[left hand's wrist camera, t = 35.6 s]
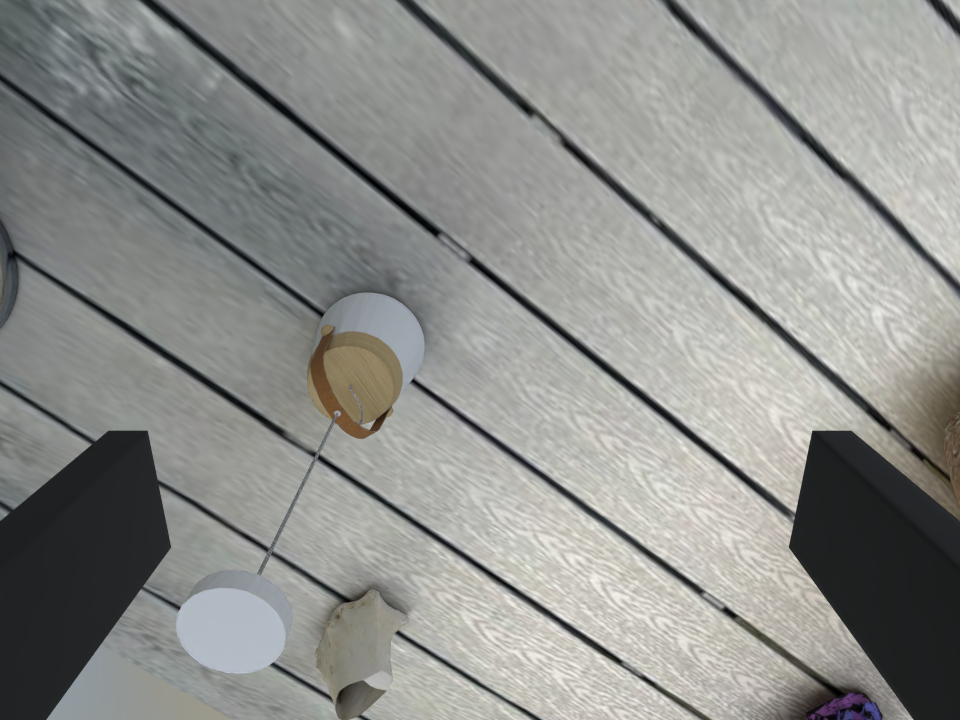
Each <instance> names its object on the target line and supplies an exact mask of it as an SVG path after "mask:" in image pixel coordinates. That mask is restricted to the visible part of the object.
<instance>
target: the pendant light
mask: <svg viewBox="0 0 960 720" xmlns="http://www.w3.org/2000/svg"><path fill="white" fill-rule="evenodd" d="M424 352H425V342H424V336H423V332H422V329H421V327H420V324H419V323H418V321H417V319H416V318H415V316H414V315H413V314H412V312H411V311H410V310H409V309H408V308H407V307H406V306H404V305H403V304H402V303H400V302H399V301H397V300H396V299H394V298H391V297H389V296H387V295H383V294H377V293H357V294H353V295H350V296H347V297H344V298H343V299H341V300H339V301H337V302H336V303H335V304H333V305H332V306H331V307H330V308H329V309H328V310H327V312H326V313H325V314H324V316H323V318H322V319H321V321H320V324H319V327H318V330H317V334H316V338H315V342H314V346H313V350H312V354H311V358H310V362H309V366H308V384H307V385H308V390H309V395H310V397H311V399H312V401H313V403H314V405H315V406H316V407H317V408H318V410H319V411H320V412H321V413H322V414H323V415H325V416H326V417H328V418H329V419H331V420H333V421H332V423H331V425H330V427H329V429H328V431H327V433H326V435H325V437H324V439H323V441H322V443H321V445H320V447H319V449H318V451H317V453H316V455H315V457H314V459H313V461H312V463H311V466H310V468H309V470H308V472H307V474H306V476H305V478H304V480H303V482H302V484H301V486H300V488H299V490H298V492H297V494H296V496H295V498H294V500H293V502H292V504H291V506H290V508H289V510H288V512H287V514H286V516H285V518H284V520H283V522H282V524H281V526H280V528H279V530H278V533H277V535H276V537H275V539H274V541H273V543H272V545H271V547H270V549H269V551H268V553H267V555H266V557H265V559H264V561H263V563H262V565H261V567H260V569H259V571H258V573H257V574H254V573H251V572H247V571H240V570H228V571H220V572H217V573H214V574H211V575H208V576H207V577H205V578H204V579H202V580H201V581H199V582H198V583H197V584H196V585H195V587H194V588H193V589H192V591H191V592H190V594H189V596H188V597H187V599H186V600H185V602H184V604H183V605H182V607H181V609H180V610H179V612H178V615H177V619H176V631H177V635H178V638H179V640H180V642H181V644H182V646H183V648H184V649H185V650H186V651H187V652H188V653H189V654H190V655H191V656H192V657H193V658H194V659H196V660H197V661H198V662H200V663H201V664H203V665H205V666H207V667H209V668H212V669H215V670H218V671H221V672H226V673H239V674H243V673H249V672H255V671H258V670H260V669H263V668H265V667H267V666H269V665H270V664H271V663H273V662H274V661H275V660H276V659H277V658H278V657H279V655H280V654H281V652H282V650H283V648H284V645H285V643H286V640H287V637H288V635H289V632H290V629H291V625H292V621H293V614H292V609H291V605H290V603H289V601H288V599H287V598H286V596H285V594H284V593H283V592H282V591H281V590H280V589H279V587H278V586H276V585H275V584H274V583H272V582H271V581H270V580H268V579H266V578H264V577H262V576H261V573H262V571H263V569H264V567H265V565H266V563H267V561H268V559H269V557H270V555H271V553H272V551H273V549H274V547H275V545H276V542H277V540H278V538H279V536H280V534H281V532H282V530H283V528H284V526H285V524H286V522H287V520H288V518H289V516H290V514H291V512H292V509H293V507H294V505H295V503H296V501H297V499H298V497H299V495H300V493H301V491H302V489H303V487H304V485H305V483H306V481H307V478H308V476H309V474H310V472H311V470H312V468H313V466H314V464H315V462H316V460H317V458H318V456H319V454H320V452H321V450H322V447H323V445H324V443H325V441H326V439H327V437H328V435H329V433H330V431H331V429H332V427H333V425H334V423H336V424H337V425H338V426H339V427H340V428H341V429H342V430H343V431H345V432H346V433H347V434H349V435H351V436H352V437H355V438H358V439H364V438H366V437H368V436H370V435H371V434H373V433H375V432H377V431H378V430H379V429H380V428H381V426H382V424H383V422H384V420H385V418H386V417H389V416H391V415H392V413H393V409H392V405H393V404H394V403H395V402H396V400H397V398H398V397H399V396H400V394H401V393H402V392H403V390H404V389H405V388H406V387H407V385H408V384H409V383H410V381H411V380H412V379H413V378H414V376H415V375H416V373H417V372H418V370H419V369H420V366H421V364H422V361H423V358H424ZM375 419H376V421H375V422H374V424H373V426H372V427H371V429H370V430H367V429H365V428H363V427H362V426H360V425H361V424H365V423H369V422H371V421H373V420H375Z"/></svg>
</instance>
